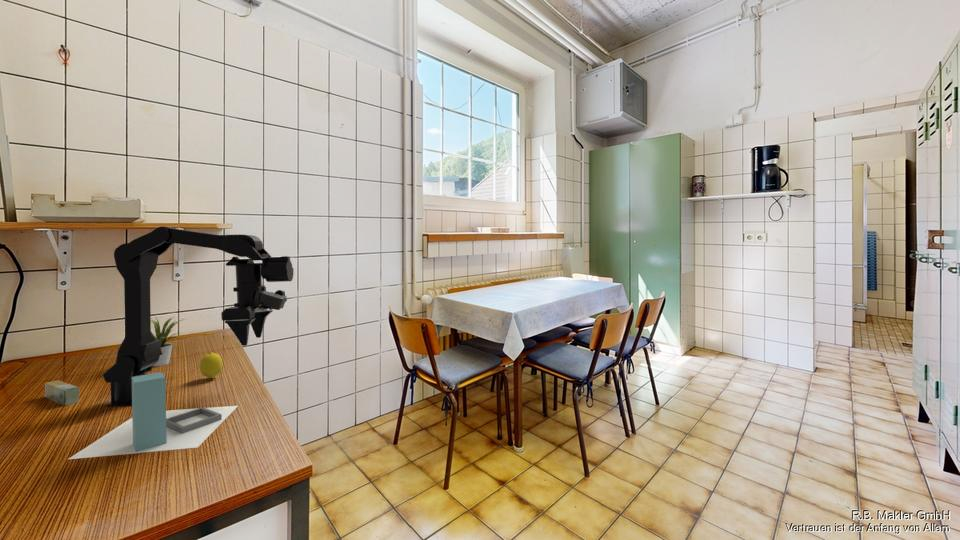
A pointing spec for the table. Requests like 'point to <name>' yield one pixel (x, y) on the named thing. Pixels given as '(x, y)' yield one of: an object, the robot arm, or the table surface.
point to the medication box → (62, 392)
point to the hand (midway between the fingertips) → (252, 341)
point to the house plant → (164, 341)
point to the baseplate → (122, 443)
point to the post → (149, 410)
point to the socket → (182, 429)
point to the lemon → (211, 365)
